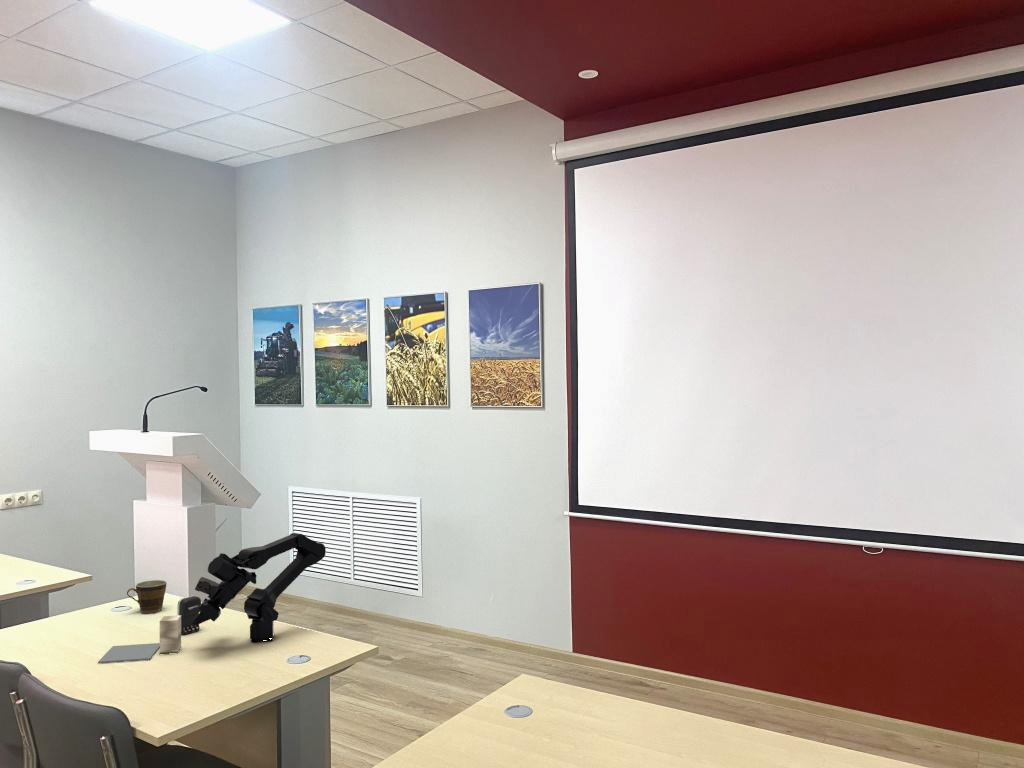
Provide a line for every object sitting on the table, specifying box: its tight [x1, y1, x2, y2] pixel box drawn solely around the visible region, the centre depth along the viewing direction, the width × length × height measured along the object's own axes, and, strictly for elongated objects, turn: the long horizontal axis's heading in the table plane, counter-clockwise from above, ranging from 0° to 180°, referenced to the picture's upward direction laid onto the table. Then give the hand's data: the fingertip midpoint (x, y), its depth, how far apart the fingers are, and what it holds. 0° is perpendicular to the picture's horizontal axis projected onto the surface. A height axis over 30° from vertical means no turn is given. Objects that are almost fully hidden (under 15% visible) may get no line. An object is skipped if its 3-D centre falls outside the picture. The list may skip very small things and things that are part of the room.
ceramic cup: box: [126, 579, 167, 615], centre depth 271 cm, size 13×10×10 cm
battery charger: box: [177, 595, 202, 636], centre depth 248 cm, size 7×4×11 cm, turn 147°
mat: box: [97, 642, 160, 664], centre depth 227 cm, size 14×14×1 cm
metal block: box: [159, 614, 182, 655], centre depth 230 cm, size 5×5×10 cm
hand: (193, 624), depth 231 cm, fingers closed
